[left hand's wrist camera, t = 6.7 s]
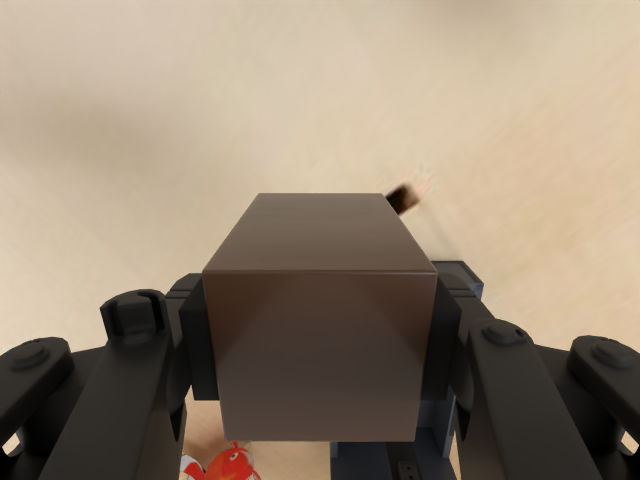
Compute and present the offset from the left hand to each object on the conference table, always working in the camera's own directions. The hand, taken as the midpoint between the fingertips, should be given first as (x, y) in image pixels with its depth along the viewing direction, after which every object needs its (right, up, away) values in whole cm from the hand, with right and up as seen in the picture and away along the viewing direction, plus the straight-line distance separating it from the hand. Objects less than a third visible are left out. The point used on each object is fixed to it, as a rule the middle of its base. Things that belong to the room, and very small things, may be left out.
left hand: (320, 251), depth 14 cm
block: (0, 0, 0) cm, 0 cm away
